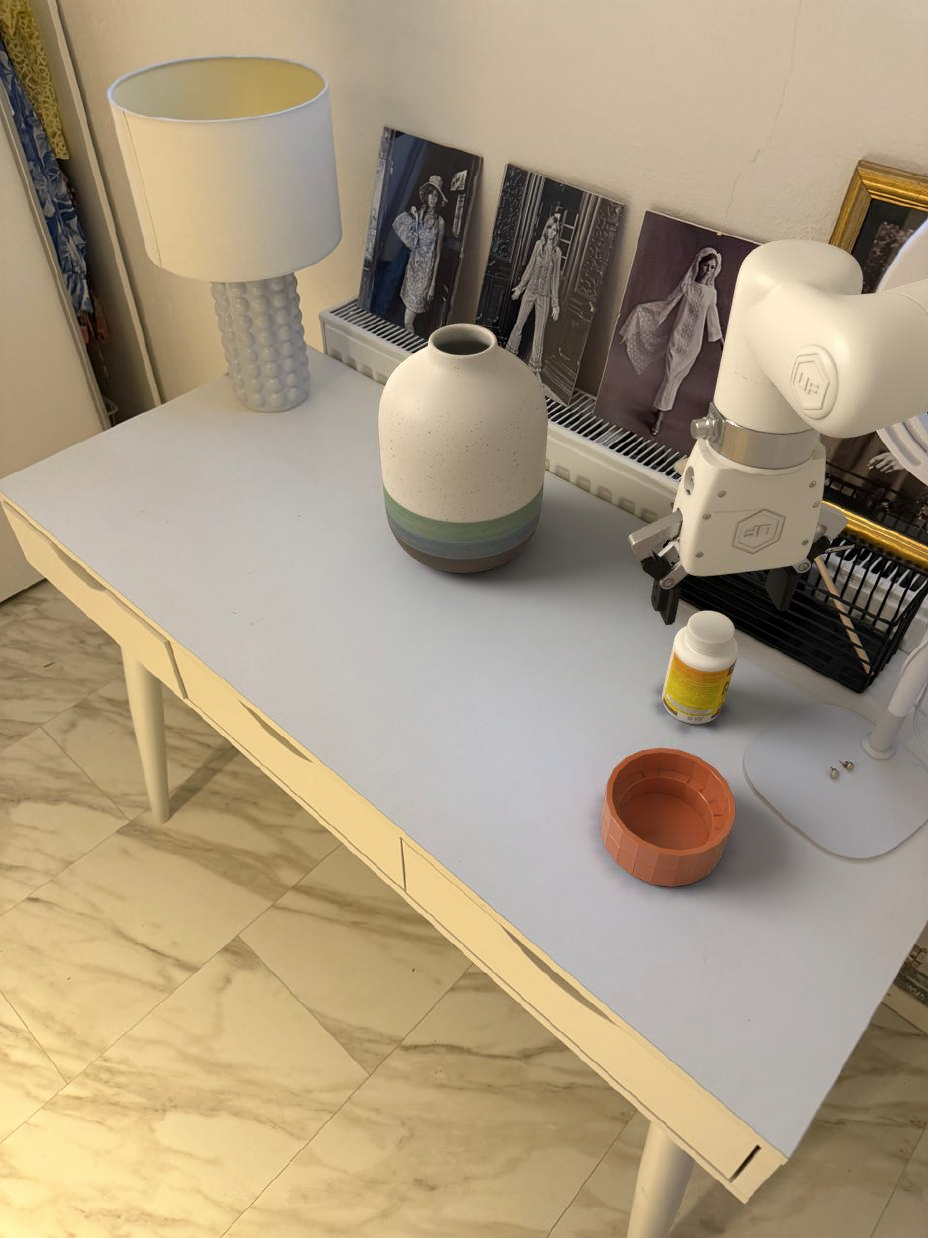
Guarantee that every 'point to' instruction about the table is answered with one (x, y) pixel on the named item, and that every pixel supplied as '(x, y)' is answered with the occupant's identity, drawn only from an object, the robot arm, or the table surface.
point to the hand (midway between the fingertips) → (720, 606)
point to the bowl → (666, 816)
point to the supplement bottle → (700, 668)
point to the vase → (463, 451)
